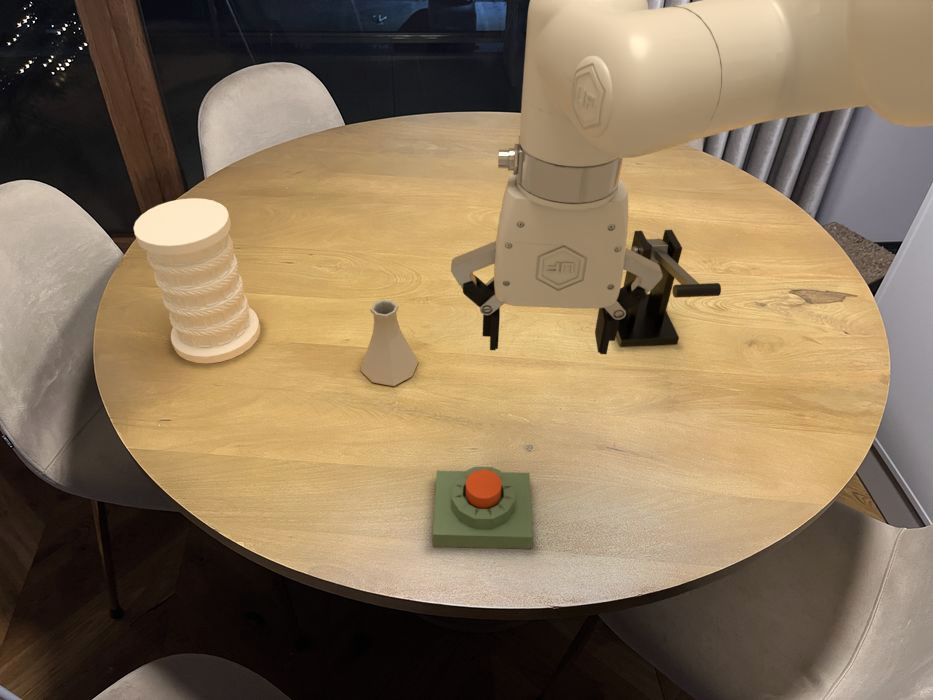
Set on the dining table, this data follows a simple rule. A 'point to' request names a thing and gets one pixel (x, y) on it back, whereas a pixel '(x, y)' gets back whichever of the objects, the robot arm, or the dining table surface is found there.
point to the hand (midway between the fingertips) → (546, 342)
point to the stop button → (483, 488)
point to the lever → (680, 273)
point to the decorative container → (198, 279)
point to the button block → (482, 513)
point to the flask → (388, 348)
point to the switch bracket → (650, 301)
